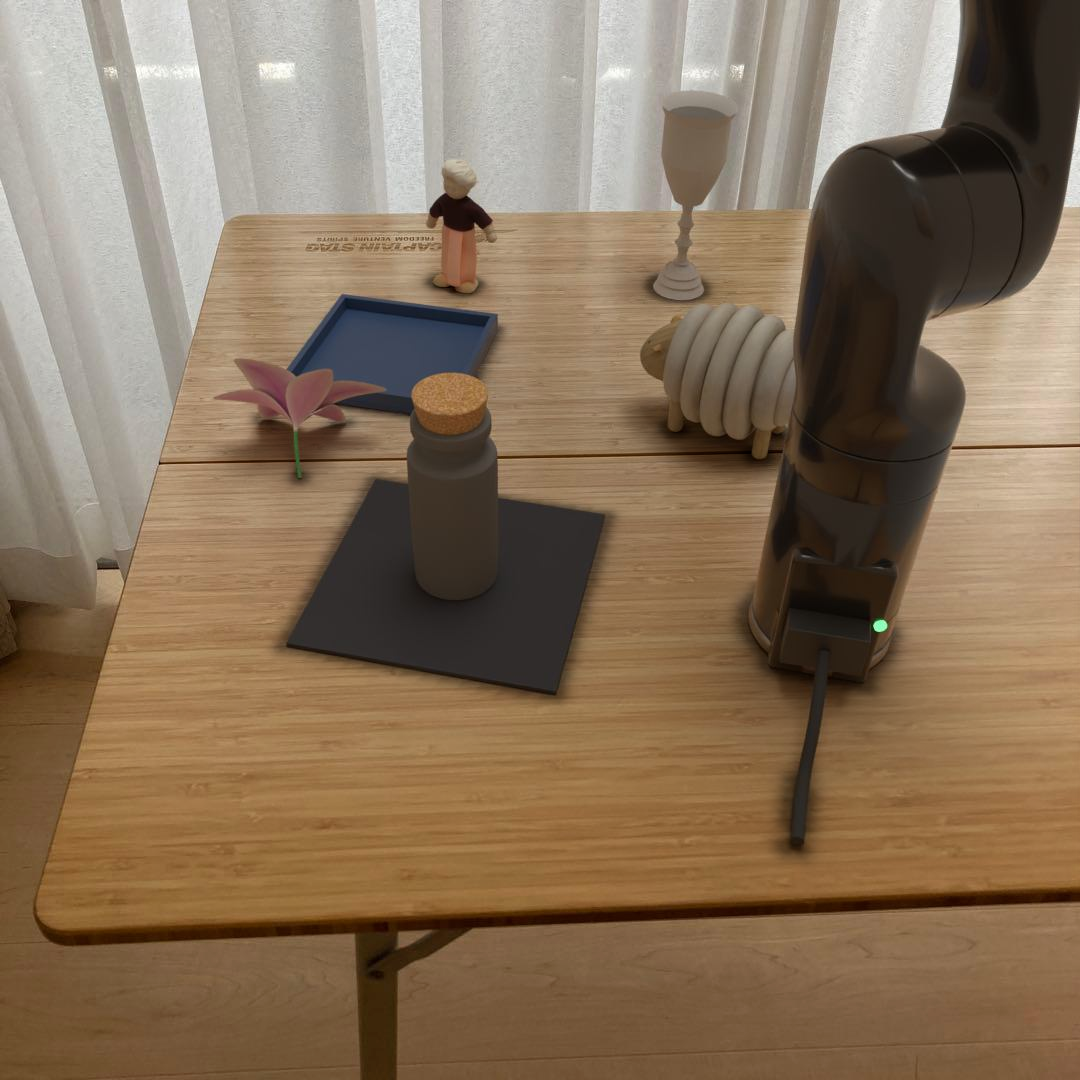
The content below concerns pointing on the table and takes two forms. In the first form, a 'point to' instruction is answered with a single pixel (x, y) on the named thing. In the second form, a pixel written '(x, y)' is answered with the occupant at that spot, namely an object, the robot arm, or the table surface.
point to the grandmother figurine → (459, 227)
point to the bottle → (453, 487)
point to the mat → (455, 625)
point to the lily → (295, 394)
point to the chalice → (691, 173)
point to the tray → (395, 346)
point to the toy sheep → (725, 371)
